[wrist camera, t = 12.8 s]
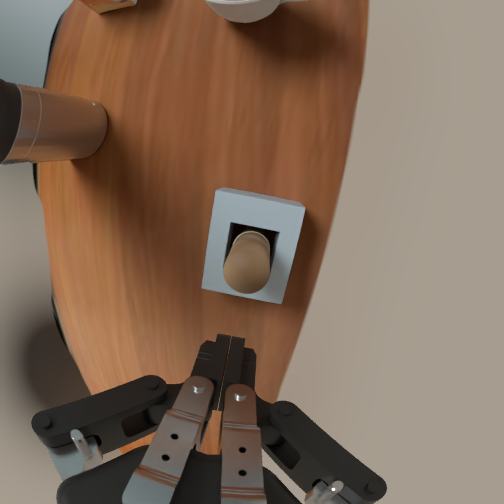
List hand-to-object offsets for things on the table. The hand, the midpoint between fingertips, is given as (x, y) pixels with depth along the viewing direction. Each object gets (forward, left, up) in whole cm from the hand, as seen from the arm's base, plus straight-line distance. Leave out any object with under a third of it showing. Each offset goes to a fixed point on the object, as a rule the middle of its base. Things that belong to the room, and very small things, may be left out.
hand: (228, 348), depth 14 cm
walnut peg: (0, 0, -23) cm, 23 cm away
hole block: (0, 0, -23) cm, 23 cm away
